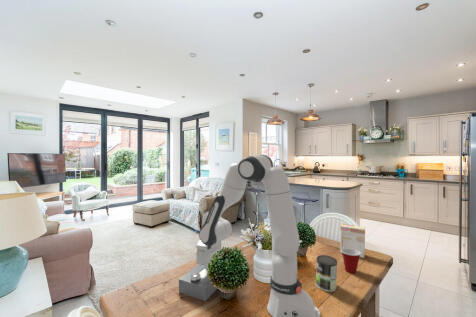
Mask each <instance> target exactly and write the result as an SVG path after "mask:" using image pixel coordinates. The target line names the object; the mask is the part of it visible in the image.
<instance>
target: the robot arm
mask: <svg viewBox="0 0 476 317" xmlns="http://www.w3.org/2000/svg"><path fill="white" fill-rule="evenodd" d="M248 181H251V182H256V183H260V182H261V183H262V184H263V187H264V193H265V199H266V200H265V201H266V205H267V211H268V219H269V225H270V226H269V228H270V233H271V239H272V240H271V276H270V279H269V280H270V281H269V282H270V283H269V284H270V285H269V286H270V294H269V299H268V304H267V308H266V309H267V311H268V313H269V314H270V316H271V317H321V312H320V310H319V308H318V307H317V306H315V303H314V299H313V297H312V296H311V295H309V294H308V292H306V291H305V290H304V289H303V288H302V286H303V285H302V283H303V281H302V280H299V279H298V254H297V252H298V250H299V248H300V247H299V246H300V235H299V230H298V224H297V221H296V220H297V219H296V216H295V209H294V204H293V199H292V198H293V197H292V193H291V187H290V183H289V179H288V176H287V173H286V171H285V170H284V168H282V167H279V166H274V163H273V160H272V158H271V157H269V156H268V155H265V154H252V155H249V156H245V157H243V158H242V159H241V160H240V161H239V162H237V161H236V162H233V163H231V164H230V166H229V168H228V170H227V172H226V175H225V177H224V181H223V184H222V187H221V188H220V191H219V193H218V194H217V195H216V196H215V198H214V200H213V202H212V204H211V206H210V208H209V211H206V212H204V213H203V215H202V220H201V223H202V224H201V227H200V229H199V234H198V236H199V237H198V238H199V241H198V242H197V244H196V245H195V248H196V249H197V250H196V253H195V254H196V256H195V258H196V259H195V261H196V262H195V263H196V264H197V265H201V266H203V265H204V264H205V265H206V266H205V267H206V268H207V269H208V262H209V260H211V258H212V254H214V253H216V252H217V251H218V250H221V251H222V248H223V247H222V241H224V240H226V239H228V238H230V237H231V236H232V234H233V230H234V229H233V225H232V223H231V222H230V221H229V220H227V219H225V218H223V217H222V214H223V213H224V212H225V211H226V210H227V209H228V208H230V207H231V206H233V205H234V204H236V203H238V202H239V201H241V199H242V197H244V194H245V191H246V188H247V185H248V184H247V183H248Z"/></svg>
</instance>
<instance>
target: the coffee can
mask: <svg viewBox="0 0 476 317" xmlns="http://www.w3.org/2000/svg"><path fill="white" fill-rule="evenodd" d="M337 272H338V260H337V259H336V258H335V257H334V256H330V255H326V254H325V255H324V254H321V255H320V254H319V255H317V256H316V273H315V274H316V275H315V276H316V277H315V278H316V279H315V286H316V287H317V288H319V290H321V291H324V292H328V293H330V292H335V291H336V290H337V283H338V282H337V281H338V280H337V278H338V277H337V275H338V273H337Z"/></svg>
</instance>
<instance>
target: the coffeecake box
mask: <svg viewBox="0 0 476 317" xmlns="http://www.w3.org/2000/svg"><path fill="white" fill-rule="evenodd" d="M339 234H340V235H339V236H340V239H339V240H340V243H339V244H340V245H339V253H340V254H342V252H341V249H345V248H348V249H354V250H357V251H359V252H361V254H360V257H359V259H360V258H361V259H365V254H366V252H365V250H366V248H365V247H366V226H362V225H361V226H360V225H354V224H346V223H341V225H340V233H339Z"/></svg>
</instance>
